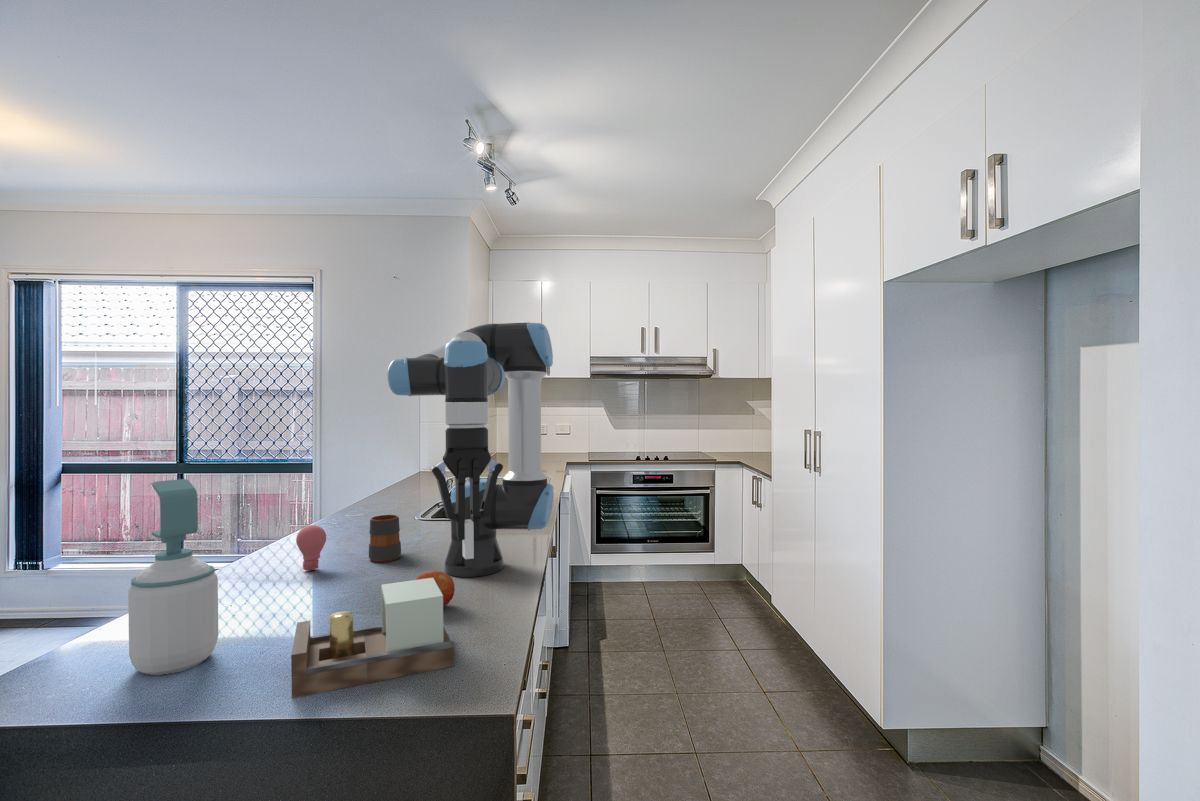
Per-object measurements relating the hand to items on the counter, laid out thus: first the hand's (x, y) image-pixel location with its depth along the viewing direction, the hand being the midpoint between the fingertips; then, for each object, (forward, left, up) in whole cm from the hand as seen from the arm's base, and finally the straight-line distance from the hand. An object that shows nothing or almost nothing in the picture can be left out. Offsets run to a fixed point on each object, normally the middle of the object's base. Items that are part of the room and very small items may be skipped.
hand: (468, 556), depth 104 cm
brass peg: (+21, 0, -15) cm, 26 cm away
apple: (+3, -22, -16) cm, 28 cm away
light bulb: (+28, -65, -16) cm, 73 cm away
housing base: (+16, 0, -16) cm, 23 cm away
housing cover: (+10, 0, -13) cm, 16 cm away
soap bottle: (+47, -15, -16) cm, 52 cm away
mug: (+9, -70, -16) cm, 73 cm away
